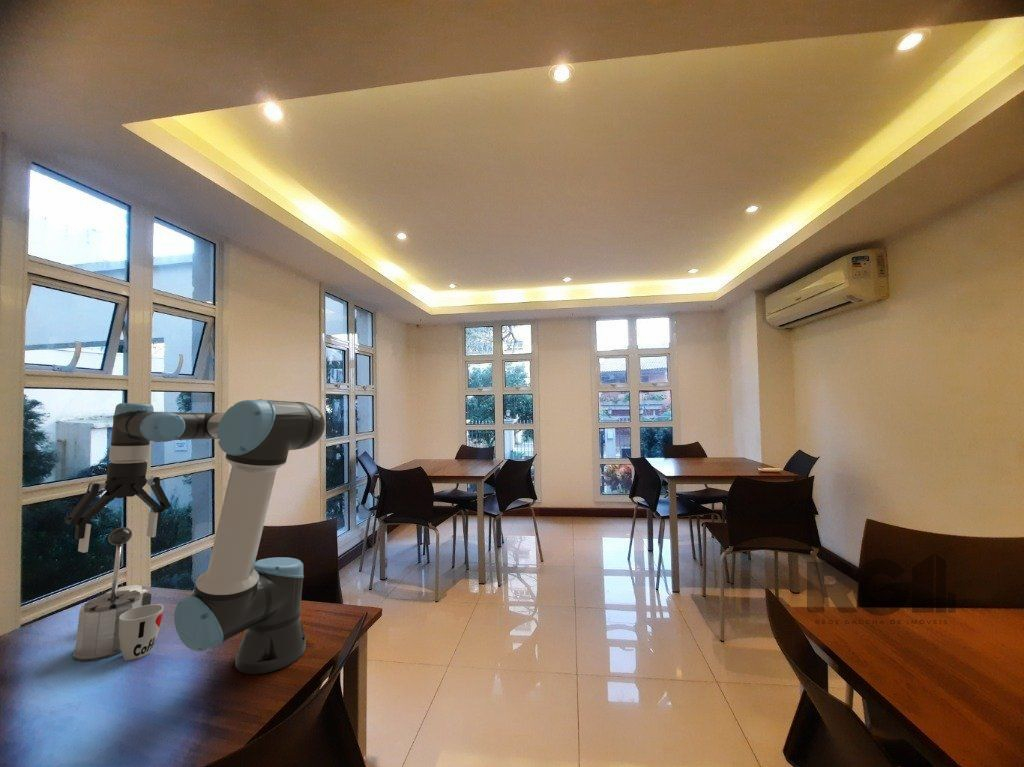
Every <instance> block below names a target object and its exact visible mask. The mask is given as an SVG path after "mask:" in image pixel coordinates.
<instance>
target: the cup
mask: <svg viewBox="0 0 1024 767" xmlns="http://www.w3.org/2000/svg"><path fill="white" fill-rule="evenodd" d="M164 607H165V606H164V605H163V604H157V603H156V604H155V603H154V604H151V603H150V605H145V606H140V607H137V608H133V609H131V610H128V611H126V612H124V613H123V614H121V615H120V617H119V641H120V649H121V654H122V658H123V659H124V660H125V661H131V660H132V661H133V660H137V659H140V658H142V657H146V656H147V655H149V654H150V653H151V652H152V650H153V648H154V646H155V643H156V642H157V638H158V635H159V632H160V628H161V624H162V619H163V614H164Z"/></svg>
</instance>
